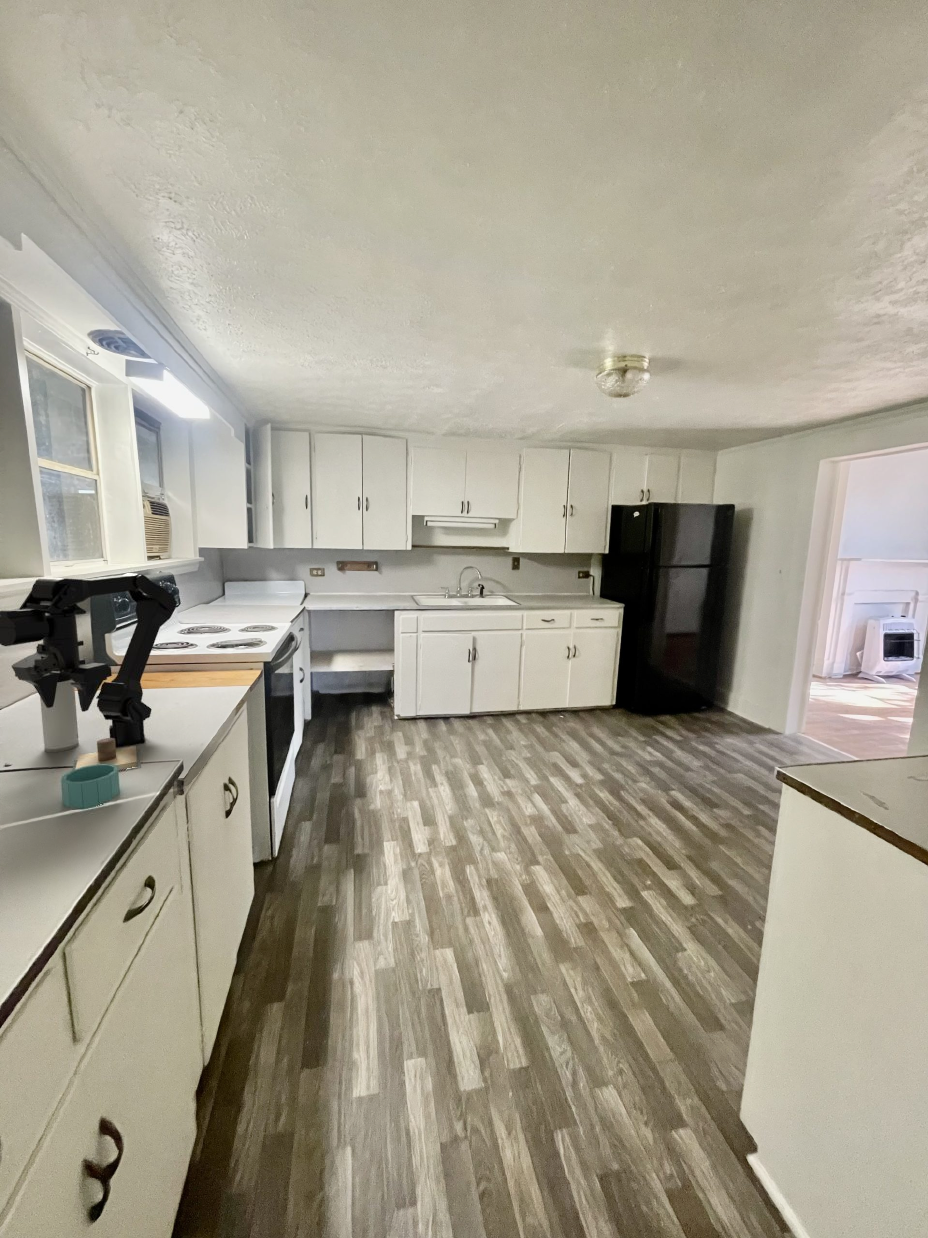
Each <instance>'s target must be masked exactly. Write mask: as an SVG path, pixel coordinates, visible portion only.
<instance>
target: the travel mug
mask: <svg viewBox="0 0 928 1238" xmlns="http://www.w3.org/2000/svg"><path fill="white" fill-rule="evenodd" d="M67 671H69V670H67ZM73 682H74V681H73V680H72V679H71V678H70V675H63V674H59V675H58V682H57V688H56V695H55V701H54V705H53V707H51V708H47V707H46V706H45V704H44V702H43V700H42V699H41V697H40V696H39V698H40V712H41V723H42V735H43V736H42V737H43V744H44V747H43V748H44V752H48V753H56V752H57V753H58V752H63V751H68V750H71V749H75V748H76V747H78V746H79V744H80V742H79V728H78V717H77V716H78V715H77V702H76V701H77V700H76V691H75V690H76V688H75V687H74V686H73V685H71V684H70V683H73Z"/></svg>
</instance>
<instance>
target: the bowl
mask: <svg viewBox="0 0 928 1238" xmlns="http://www.w3.org/2000/svg"><path fill="white" fill-rule="evenodd" d="M60 785H61V786H60V787H61V796H62V805H63V806H66V807H67V808H74V809H71V810H73V811H75V810H77V811H78V810H79V811H80V810H87V809H92V808H96V806H97V807H99V806H98V805H100V804H103V803H105V802H108V801H109V800H112V799H114V798H115V797H116V796H117V795H119V794H120V788H121V787H120V772H119V770H118V766H117V765H114V764H95V765H90V766H85V767H81V768H78V769H75V770H73V769H72V770H70V771H68V772H67V773H65V774H63V775H61V779H60ZM103 805H104V804H103Z"/></svg>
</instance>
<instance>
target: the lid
mask: <svg viewBox="0 0 928 1238" xmlns="http://www.w3.org/2000/svg"><path fill="white" fill-rule="evenodd" d="M136 747H137V745H130V746H124V747H118V748H116V746H115V739H114V738H110V737H108V738H101V739H99V740H98V741H96V748H97V751H95V752H90V753H85V754H84V753H83V754H78V756H77V759H78V760H77V759H76V760H77V765H76V769H78V768H81V767H85V766H90V765H95V764H114V765H117V766H118V770H123V769H127V768H132V767H137V759H136V750H137V748H136Z"/></svg>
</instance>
